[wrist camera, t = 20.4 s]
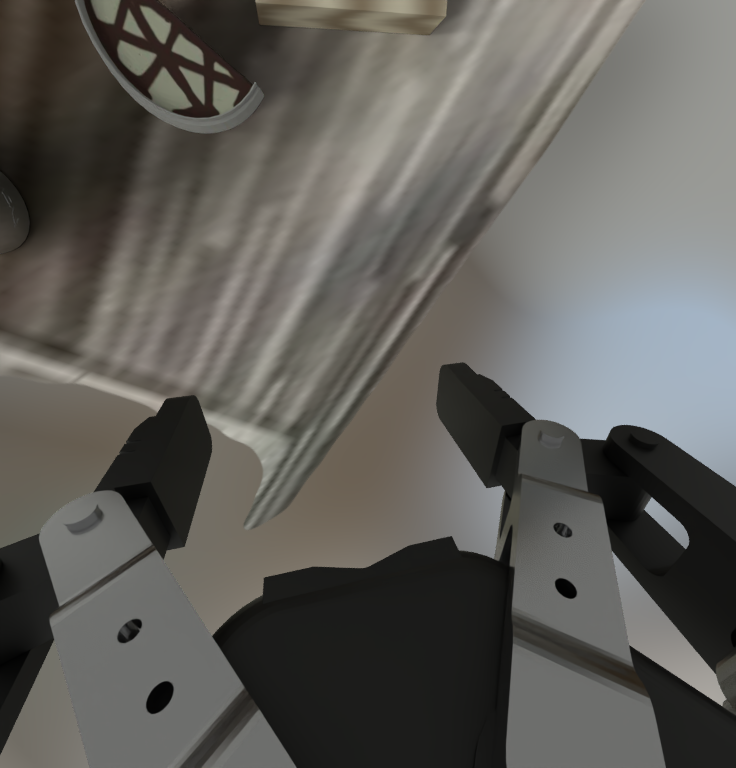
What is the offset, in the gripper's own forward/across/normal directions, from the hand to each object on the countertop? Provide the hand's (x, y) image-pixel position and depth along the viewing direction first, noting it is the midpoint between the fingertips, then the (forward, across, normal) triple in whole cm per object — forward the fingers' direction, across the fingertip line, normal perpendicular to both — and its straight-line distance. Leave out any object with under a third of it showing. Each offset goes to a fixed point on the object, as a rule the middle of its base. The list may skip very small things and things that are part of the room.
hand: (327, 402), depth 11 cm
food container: (+33, +8, -14) cm, 37 cm away
